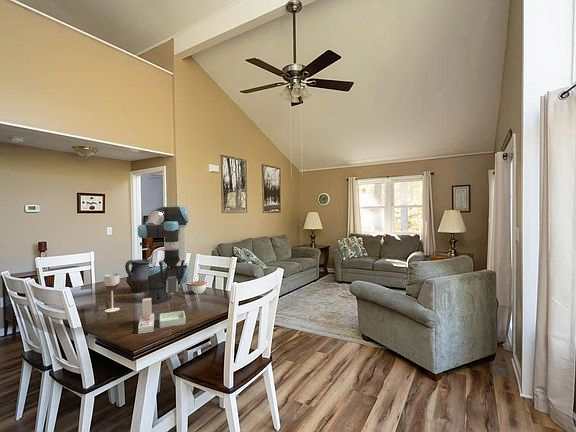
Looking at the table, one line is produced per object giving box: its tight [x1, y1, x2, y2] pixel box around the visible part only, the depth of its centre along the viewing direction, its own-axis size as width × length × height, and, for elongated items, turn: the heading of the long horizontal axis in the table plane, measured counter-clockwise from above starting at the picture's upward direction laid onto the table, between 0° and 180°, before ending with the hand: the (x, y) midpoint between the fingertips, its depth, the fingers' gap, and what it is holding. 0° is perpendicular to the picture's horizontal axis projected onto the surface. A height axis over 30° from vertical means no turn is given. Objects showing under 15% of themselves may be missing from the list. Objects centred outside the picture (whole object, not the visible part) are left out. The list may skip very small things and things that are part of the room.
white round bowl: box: [191, 280, 207, 295], centre depth 227 cm, size 11×11×9 cm
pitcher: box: [124, 259, 151, 294], centre depth 232 cm, size 21×22×25 cm
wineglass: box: [103, 272, 121, 313], centre depth 189 cm, size 9×10×22 cm
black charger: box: [168, 276, 178, 295], centre depth 168 cm, size 5×4×9 cm
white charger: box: [141, 297, 153, 316], centre depth 169 cm, size 5×4×9 cm
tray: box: [159, 310, 187, 329], centre depth 168 cm, size 13×13×4 cm
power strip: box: [137, 313, 155, 335], centre depth 166 cm, size 26×7×4 cm, turn 23°
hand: (172, 291), depth 168 cm, fingers closed on black charger, 4 cm apart
